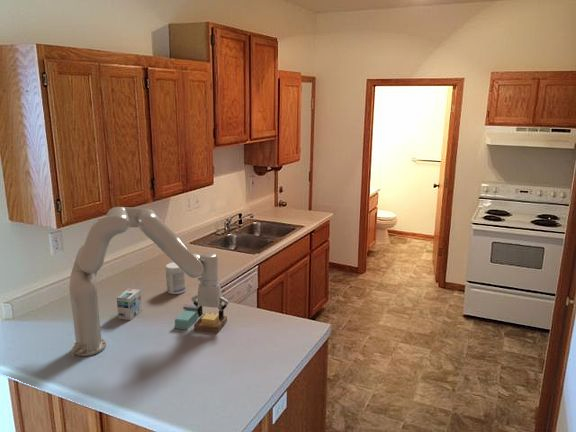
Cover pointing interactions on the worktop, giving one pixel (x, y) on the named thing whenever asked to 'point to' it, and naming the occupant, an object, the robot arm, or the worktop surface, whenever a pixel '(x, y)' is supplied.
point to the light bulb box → (129, 304)
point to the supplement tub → (175, 279)
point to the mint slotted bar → (186, 317)
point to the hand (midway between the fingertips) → (210, 316)
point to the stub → (210, 319)
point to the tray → (216, 329)
